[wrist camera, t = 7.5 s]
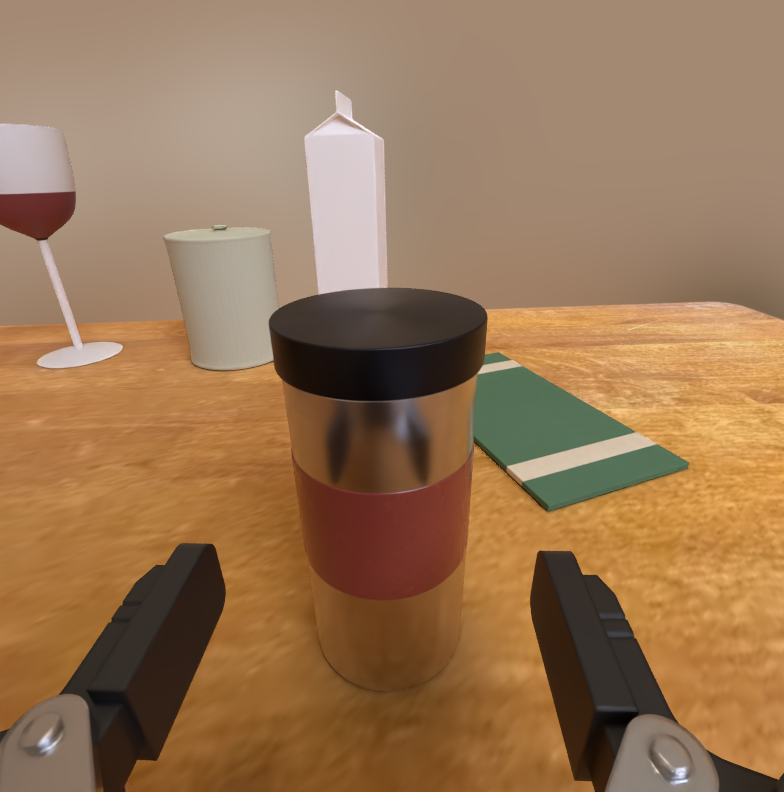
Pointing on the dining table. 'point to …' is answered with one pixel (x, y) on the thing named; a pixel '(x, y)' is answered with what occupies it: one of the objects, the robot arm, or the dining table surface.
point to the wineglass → (44, 216)
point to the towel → (558, 438)
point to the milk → (347, 202)
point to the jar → (383, 470)
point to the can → (225, 294)
